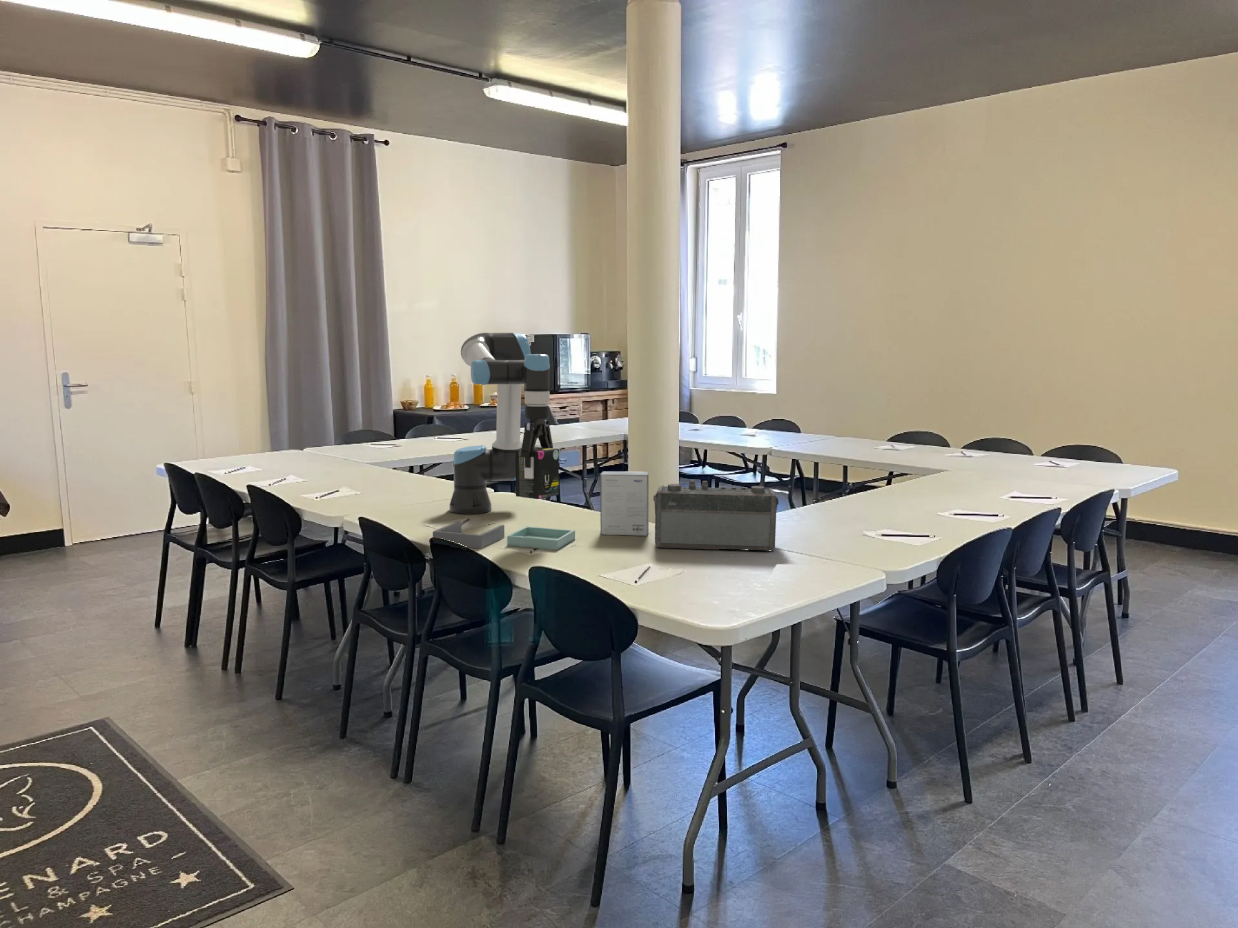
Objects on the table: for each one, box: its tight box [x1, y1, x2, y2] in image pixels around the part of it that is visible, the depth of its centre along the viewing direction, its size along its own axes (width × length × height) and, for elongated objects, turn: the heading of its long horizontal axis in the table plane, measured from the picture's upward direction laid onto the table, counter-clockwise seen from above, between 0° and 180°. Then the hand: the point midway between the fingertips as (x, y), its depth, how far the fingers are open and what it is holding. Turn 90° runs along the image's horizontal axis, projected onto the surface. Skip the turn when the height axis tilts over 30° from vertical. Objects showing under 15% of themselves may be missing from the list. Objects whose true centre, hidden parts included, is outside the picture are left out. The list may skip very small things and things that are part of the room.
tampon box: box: [515, 446, 560, 500], centre depth 274 cm, size 11×9×15 cm
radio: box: [653, 480, 780, 551], centre depth 273 cm, size 38×14×20 cm, turn 84°
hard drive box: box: [599, 470, 650, 537], centre depth 289 cm, size 16×8×20 cm, turn 84°
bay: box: [432, 521, 506, 550], centre depth 277 cm, size 16×16×4 cm
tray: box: [506, 526, 576, 551], centre depth 276 cm, size 15×17×3 cm
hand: (537, 475), depth 274 cm, fingers closed on tampon box, 12 cm apart
